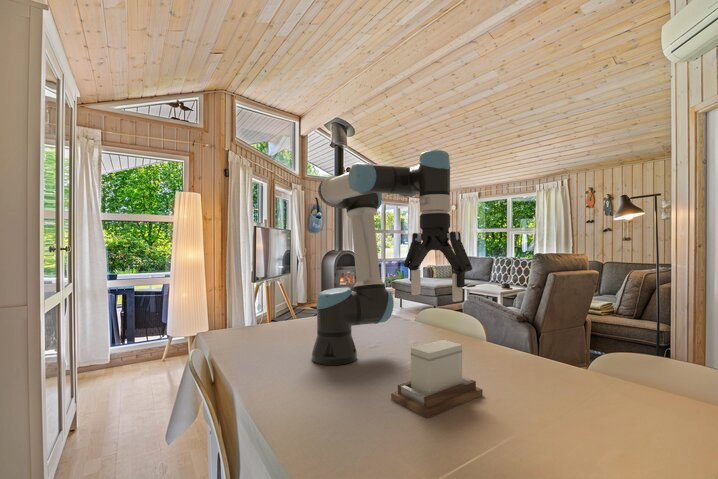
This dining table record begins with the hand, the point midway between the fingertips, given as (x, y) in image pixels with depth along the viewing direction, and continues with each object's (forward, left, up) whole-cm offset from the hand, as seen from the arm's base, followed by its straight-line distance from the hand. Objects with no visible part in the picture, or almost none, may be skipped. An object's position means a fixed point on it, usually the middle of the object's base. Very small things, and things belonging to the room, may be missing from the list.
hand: (435, 297), depth 89 cm
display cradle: (0, 0, -25) cm, 25 cm away
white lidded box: (0, 0, -23) cm, 23 cm away
